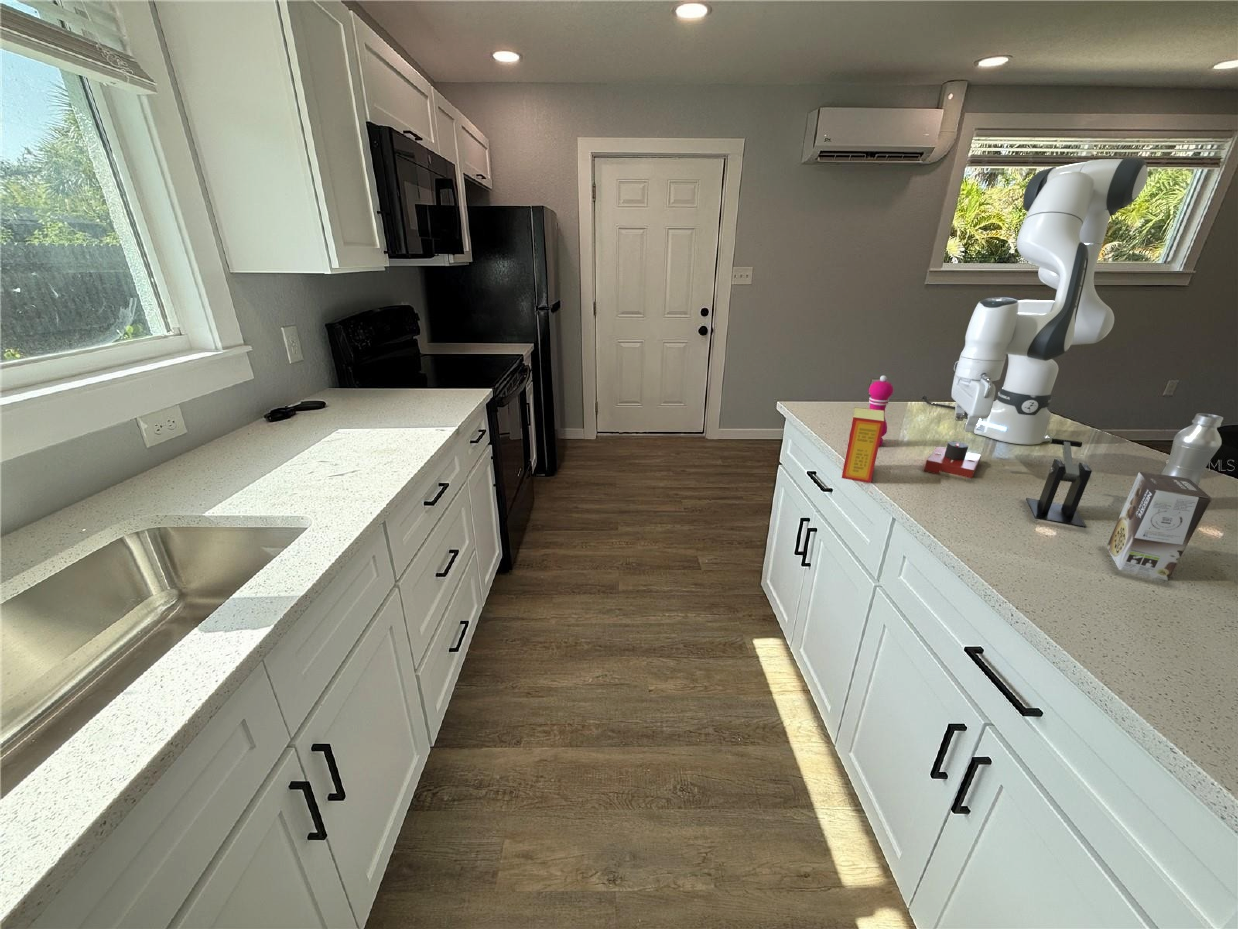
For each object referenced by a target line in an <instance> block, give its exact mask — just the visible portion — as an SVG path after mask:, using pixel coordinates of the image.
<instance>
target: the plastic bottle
mask: <svg viewBox="0 0 1238 929" xmlns="http://www.w3.org/2000/svg"><path fill="white" fill-rule="evenodd" d="M1223 420H1224V417H1223V416H1220V415H1217V414H1212V413H1203V412H1198V413H1196V414H1195V416H1194V418H1193V419H1192V420H1191V425H1189V426H1187V427H1185V428H1183V429H1181V430H1180V431H1178V432H1177V433H1176V434H1175V435H1174V436H1173V441H1172V445H1171V449H1170V455H1169V456H1168V460H1167V462H1166V464H1165V467H1164V468H1163V470H1162V471H1161V473H1160V474H1161V475H1169V476H1176V477H1183V478H1188V479H1190V480H1191V481H1192V482H1194V483H1195V484H1196V485H1197V486H1198V487H1199V485H1200V482H1201V479H1202V476H1203V474H1204V472H1205V470H1206V468H1207V466H1208V464H1209V463H1210V461H1211V460H1212V459H1213V457H1214V456H1215V455H1216V453H1217V452H1218V450H1219V449H1220V448H1221V446H1222V442H1223V441H1222V437H1221V434H1220V433H1219V431H1218V428H1220V427H1221V425H1222V422H1223Z"/></svg>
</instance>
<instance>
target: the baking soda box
mask: <svg viewBox="0 0 1238 929" xmlns="http://www.w3.org/2000/svg"><path fill="white" fill-rule="evenodd" d="M852 414H853V415H852V419H851V424H850V430H849V435H848V442H847V446H846V450H845V457H844V461H843V467H842V474H841V479H844V480H850V481H856V482H863V483H867V484H872V480H873V474H874V471H875V470H874V469H875V466H876V460H877V456H878V452H879V448H880V446H879V443H880V438H881V434H882V429H883V424H884V410H875V409H869V408H865V407H854V409H853V413H852Z"/></svg>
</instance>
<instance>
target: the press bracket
mask: <svg viewBox="0 0 1238 929" xmlns="http://www.w3.org/2000/svg"><path fill="white" fill-rule="evenodd" d="M1077 465H1078V466H1079V473H1080V475H1079V477H1078V478H1077V480H1076V481H1075V483H1073V482H1070V486H1069V488H1068V490H1067V492H1066V493H1067V494H1066V496H1065V498H1064V500H1063V503H1059V502H1053V501H1054V499H1055V496H1056V494H1057V492H1058V488H1059V486H1060V483H1061V478H1062V476H1063V473H1064V470H1065V468H1066V467H1065V465H1064V462H1063V461H1062V460H1061V459H1058V458H1054V459H1053V461H1052V465H1051V467H1050V468H1049V473H1048V475H1047V477H1046V481H1045V483H1044V486H1043V488H1042V491H1041V494H1040V497H1039V499H1035V498H1029V497H1026V498H1025V500H1026V502H1027V505H1028V507H1029V509H1030V511H1031V513H1032V516H1033V517H1034V519H1035V520H1041V521H1045V522H1051V523H1057V524H1063V525H1066V526H1067V525H1068V526H1072V527H1078V528H1084V529H1087V526H1086V524H1085V522H1084V521H1083V519H1082V518H1081V516H1080V515H1079V513H1078V511H1077V509H1078V507H1079V504H1080V502H1081V500H1082V498H1083V495H1084V492H1085V489H1086V487H1087V485H1088V482H1089V479H1090V478H1091V474H1092V472H1093V470H1092V469H1091V468H1090V467H1089V465H1088V464H1087V463H1086V462H1079V463H1078V464H1077Z"/></svg>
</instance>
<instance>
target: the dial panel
mask: <svg viewBox="0 0 1238 929" xmlns="http://www.w3.org/2000/svg"><path fill="white" fill-rule="evenodd" d="M946 448H947V447H945V446H940V445H939V446H938V445H937V446H936V447H935V448H934V449H933V451H932V452H931V453H930V455H929V456H928V458H927V459H926V462H925V465H924V470H923V471H924V472H927V473H932V474H935V475H936V474H937V475H941V474H940V472H942V473H946V474H952V475H955V476H956V475H957V476H960V477H964V478H970V479H972V478H973V476H974V474H975V472H976V470H977V467H978V466H979V464H980V462H981V458H982V454H979V453H974V452H969V451H967V453H966V456H965V459H964V460H952V459H949V458H947V457H945V456H944V455H945V451H946Z"/></svg>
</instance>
